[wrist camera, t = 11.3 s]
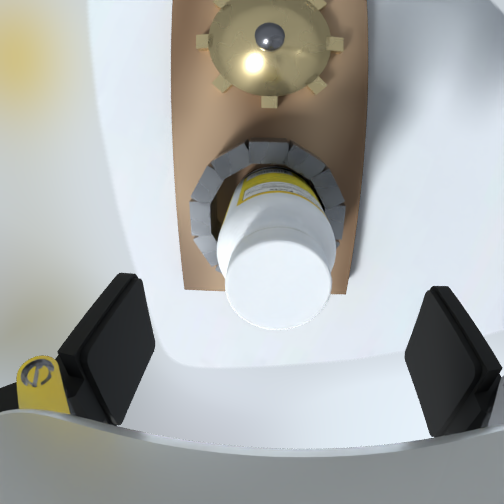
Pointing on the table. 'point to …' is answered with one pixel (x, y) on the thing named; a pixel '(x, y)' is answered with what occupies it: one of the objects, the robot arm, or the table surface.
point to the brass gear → (269, 46)
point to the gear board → (266, 125)
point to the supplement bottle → (276, 250)
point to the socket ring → (259, 152)
